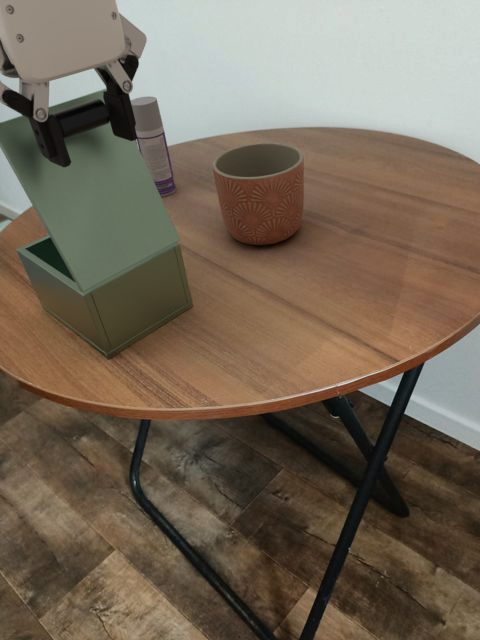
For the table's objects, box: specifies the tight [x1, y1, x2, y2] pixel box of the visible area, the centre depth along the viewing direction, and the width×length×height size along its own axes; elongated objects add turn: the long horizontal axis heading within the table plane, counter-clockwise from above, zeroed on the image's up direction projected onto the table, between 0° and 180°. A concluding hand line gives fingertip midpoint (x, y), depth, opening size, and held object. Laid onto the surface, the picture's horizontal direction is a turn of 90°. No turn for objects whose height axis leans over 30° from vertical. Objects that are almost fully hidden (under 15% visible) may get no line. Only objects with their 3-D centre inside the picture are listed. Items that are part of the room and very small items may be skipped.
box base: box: [15, 233, 194, 360], centre depth 63 cm, size 16×13×9 cm
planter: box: [211, 141, 305, 246], centre depth 74 cm, size 12×12×11 cm
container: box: [130, 95, 177, 198], centre depth 87 cm, size 5×5×15 cm
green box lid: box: [0, 88, 181, 292], centre depth 51 cm, size 16×13×6 cm
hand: (93, 148), depth 48 cm, fingers open, 6 cm apart
